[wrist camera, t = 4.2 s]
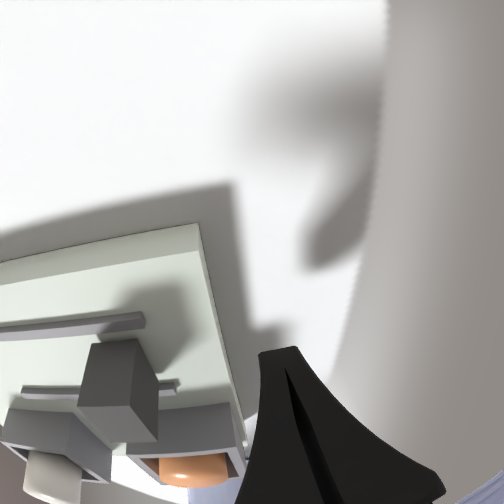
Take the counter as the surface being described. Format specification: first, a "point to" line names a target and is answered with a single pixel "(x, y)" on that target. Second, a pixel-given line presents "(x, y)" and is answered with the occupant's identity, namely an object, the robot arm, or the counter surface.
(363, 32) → the counter surface
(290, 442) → the robot arm
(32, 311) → the panel
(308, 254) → the counter surface
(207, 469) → the button orange
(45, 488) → the button white
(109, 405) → the slider knob
